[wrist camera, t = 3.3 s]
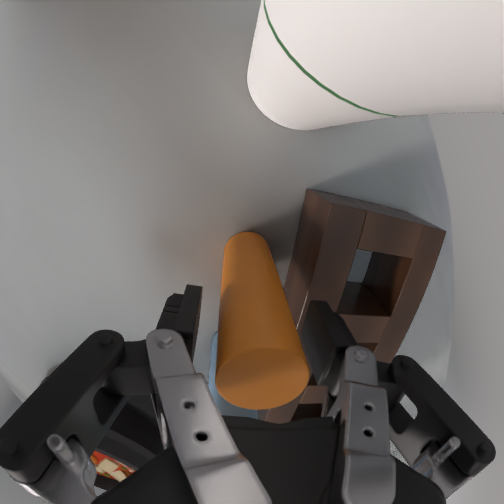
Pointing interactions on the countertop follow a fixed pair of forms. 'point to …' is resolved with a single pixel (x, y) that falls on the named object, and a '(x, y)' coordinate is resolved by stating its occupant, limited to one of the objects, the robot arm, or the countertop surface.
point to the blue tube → (221, 403)
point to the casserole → (127, 442)
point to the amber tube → (256, 330)
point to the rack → (356, 294)
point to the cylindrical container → (375, 60)
